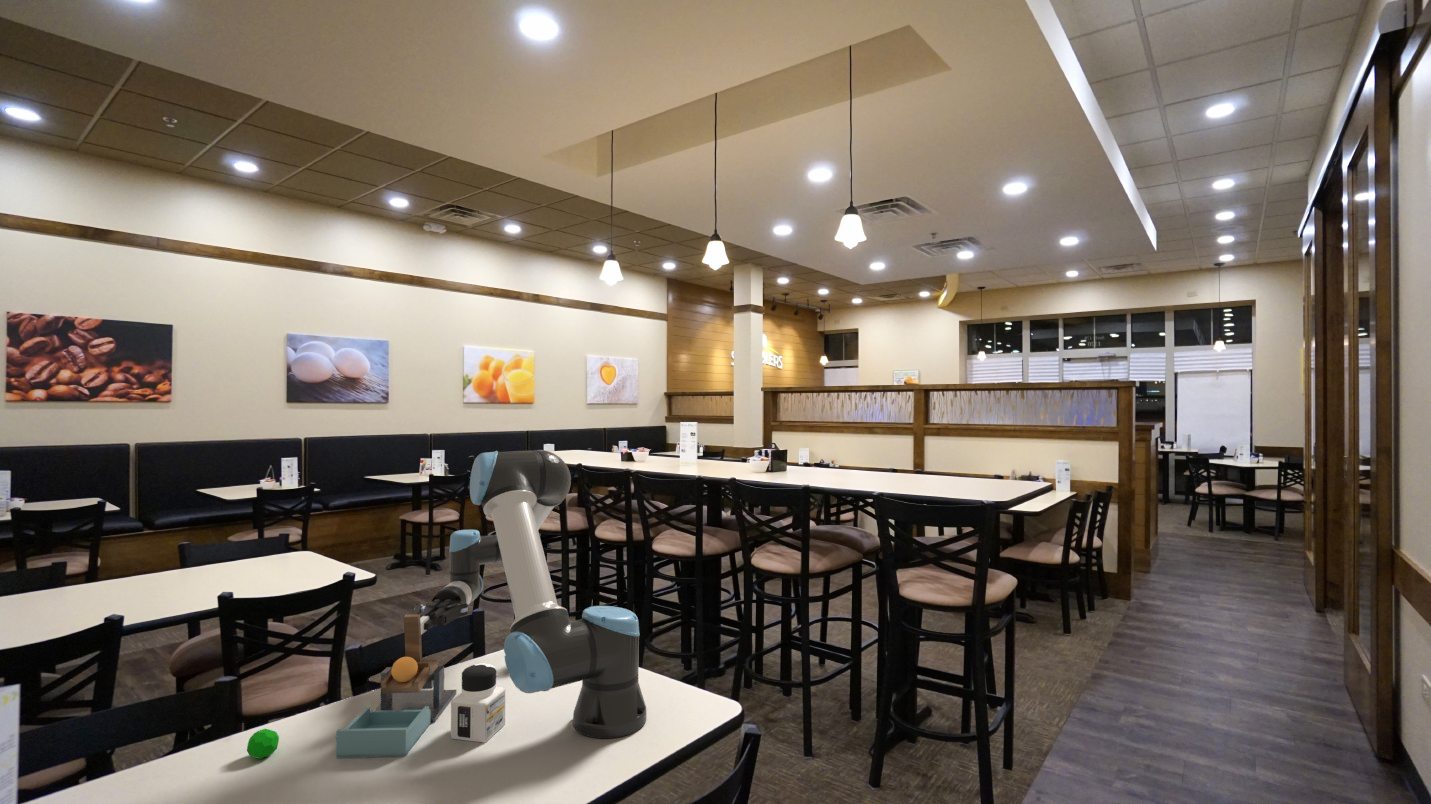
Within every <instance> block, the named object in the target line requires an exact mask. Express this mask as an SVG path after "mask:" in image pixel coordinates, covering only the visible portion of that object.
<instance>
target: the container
mask: <svg viewBox="0 0 1431 804" xmlns="http://www.w3.org/2000/svg"><path fill="white" fill-rule="evenodd" d="M505 725H506V688H505V687H501V686H499V687H498V686H497V668H496V667H495V666H494V665H492V664H489V663H483V662H482V663H476V664H472V665H470V666H468V667H466V668H464V670H463V671H462V672H461V692H460V693H459V694H458V695H457V696H455V697H454V698H453V699H452V700H451V702H450V739H452V740H453V739H454V740H458V741H459V740H460V741H467V742H477V743H487V742H488V741H489V740H490V739H491V738H492V737H493V736H494V735H495V734H496V733H498V731H500V730H501V729H502V728H503V727H504V726H505Z"/></svg>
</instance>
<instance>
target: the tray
mask: <svg viewBox="0 0 1431 804" xmlns="http://www.w3.org/2000/svg"><path fill="white" fill-rule="evenodd" d="M430 725H431V723H430V709H429V706H425V707H424V708H423V709H422V710H375V709H374V710H371V707H370V706H369V707H365V708H364V709H362V711H360V712H359V713H358V714H357V716H356V717H354V718H353V720H351V721H350V723H348V725H346V727H344V728H337V730H336V735H335V758H336V759H353V758H354V759H355V758H356V759H358V758H391V757H392V758H395V757H396V758H397V757H399V758H400V757H402V758H403V757H406V756H407V755H408V754H409V752H410V751H411V750H412V749H413V747H414V746H415V745H416V744H417V741H419V740H420V738H421V737H422V736H423V734H424V733H425V732H426V730H427V729H428V727H430Z"/></svg>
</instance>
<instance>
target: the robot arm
mask: <svg viewBox="0 0 1431 804" xmlns="http://www.w3.org/2000/svg"><path fill="white" fill-rule="evenodd" d="M469 478H470V480H469V496H470V500H471V502H472V504H473V505H477V506H481V505H482V510H483V513H484V515H485V516H486V517H488V518H490V519H492V520H493V525H494V529H495V534H490V535H481V534H480V531H479V530H478V529H461V530H460V529H459V530H456V531H453V532H452V533H451V534H450V539H449V548H448V550H449V574H448V575H449V580H448V581H449V583H448V584H447V585H445V586H444V587H443V588H442V589H440V590H439V591H438V592H436V593H435V595H434V596H433V597H432V600H431V601H429V602H426V604H425V605H424V604H420V603H414V607H413V608H414V609H413V612H412V614H411V615H419V614H420V623H421V636H422V635H423V634H425V633H426V632H427V631H429V630H431V629H433V628H436V627H437V625H438V626H439V627H444V626H446V625H448V624H450V623H451V622H453V621H455V620H456V619H457V620H458V619H459V618H461V617H463V616H466V615H468V614H469V608H468V607H469V605H470V604H471V603H472V602H473V601H475V600H476V599H478V598H479V596H480V594H481V593H482V591H483V589H484V580H483V578H482V576H481V575H480V566H481V565H488V564H494V563H502V565H503V569H504V572H505V573H504V574H505V579H506V583H507V586H508V587H507V588H508V590H509V591H508V592H509V595H510V599H511V605H512V609H513V613H514V620H513V622H512V624H511V625H510V626H509V632H510V634H508V635H507V636H506V638H505V640H504V643H503V644H504V645H503V651H504V652H503V653H504V654H505V655H504V662H505V667H506V670H507V673H508V676H509V677H510V680H511V681H512V683H513V686H515V687H516V688H517V689H518V690H519V691H520V692H522V693H524V694H534V693H539V692H548V691H550V690H552V689H555V688H559V687H562V686H566V685H567V686H568V685H570V684H574V683H577V682H581V681H582V682H581V688H580V690H579V694H578V696H577V701H576V704H575V707H574V710H573V716H572V717H573V718H572V719H573V722H572V725H573V728H574V729H575V730H576V732H578V733H579V734H581V735H583V736H585V737H589V738H593V739H594V738H596V739H613V738H621V737H625V736H627V735H628V736H629V735H631V734H633V733H636V732H637V731H639V730H640V729H642V727H644V726H645V724H646V722H647V705H646V702H645V699H644V696H643V693H642V690H641V687H640V683H639V663H640V662H639V659H640V658H639V650H640V649H639V645H640V643H639V642H640V641H639V640H640V626H639V625H640V623H639V619H638V616H637V615H636V613H635V612H633V611H631V610H629V609H627V608H623V607H619V606H611V605H593V606H589V607H587V608H585V609H584V610H583V611H582V614H581V618H580V619H575V620H571V619H570V616H569V611H568V609H567V608H565V607H563V606H561V605H559V604H558V602H557V601H558V600H557V597H556V593H555V589H554V585H553V582H552V579H551V573H550V571H549V567H548V563H547V560H546V559H547V558H546V556H545V552H544V551H545V550H544V548H543V544H542V540H541V537H540V533H539V530H540V529H541V526H542V525H543V524H544V523H545V521H546V520H547V518H548V516H549V515H550V514H551V512H552V511H553V509H554V508H555V507H557V506H559V505H560V504H562V503H563V502H564V500H565V499H566V497H567V496H568V494H569V492H570V488H571V485H572V484H571V483H572V481H571V480H572V477H571V472H570V469H569V467H568V465H567V464H566V463H565V461H564V460H563V459H562V458H561V456H559V455H557V454H555V453H554V452H552V451H550V450H543V449H535V450H515V451H498V450H495V451H490V452H482V453H479V454H478V455H477V456H476V458H475V459H474V461H473V464H472V468H471V472H470V477H469Z"/></svg>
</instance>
